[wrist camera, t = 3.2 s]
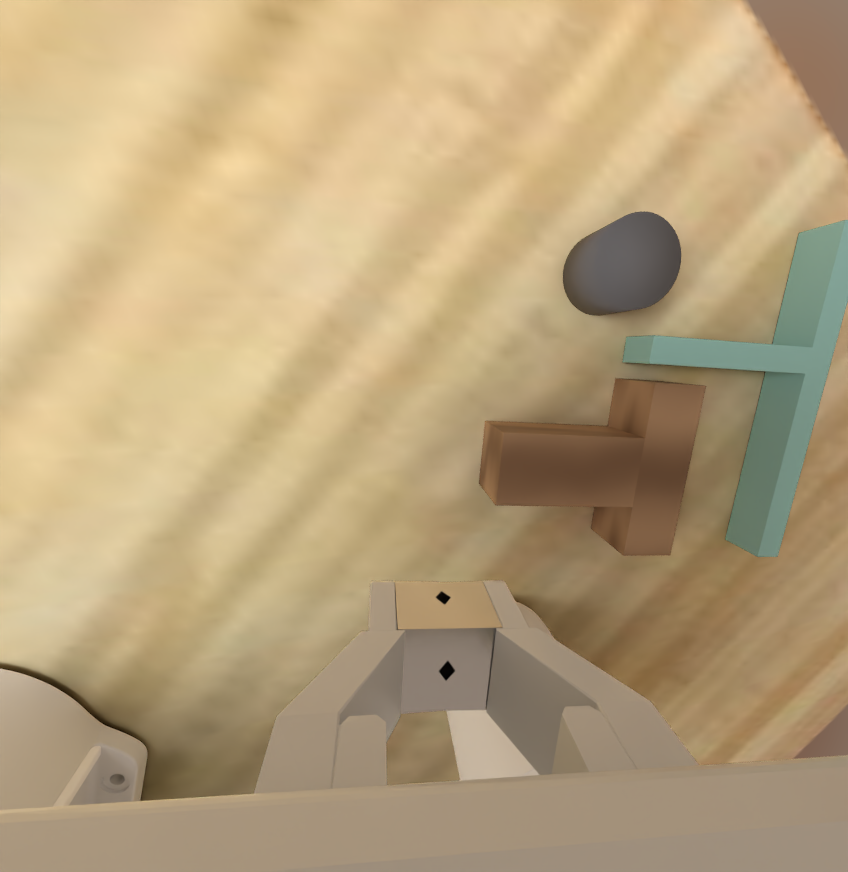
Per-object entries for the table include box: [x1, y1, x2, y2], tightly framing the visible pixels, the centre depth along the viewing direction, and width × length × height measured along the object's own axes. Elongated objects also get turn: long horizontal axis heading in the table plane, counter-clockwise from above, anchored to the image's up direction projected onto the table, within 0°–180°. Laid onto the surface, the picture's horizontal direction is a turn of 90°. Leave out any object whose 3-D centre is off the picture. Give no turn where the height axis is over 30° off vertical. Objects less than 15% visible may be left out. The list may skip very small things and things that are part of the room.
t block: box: [479, 378, 706, 555], centre depth 23 cm, size 10×11×4 cm
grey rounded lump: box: [563, 212, 681, 315], centre depth 21 cm, size 4×4×4 cm
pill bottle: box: [446, 602, 554, 780], centre depth 20 cm, size 8×8×15 cm
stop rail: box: [622, 220, 848, 557], centre depth 24 cm, size 20×12×2 cm, turn 176°
